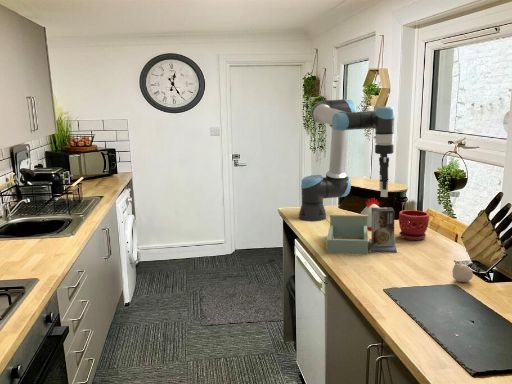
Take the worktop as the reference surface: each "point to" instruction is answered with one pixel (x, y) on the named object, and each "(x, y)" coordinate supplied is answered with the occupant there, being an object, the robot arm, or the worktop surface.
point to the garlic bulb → (462, 272)
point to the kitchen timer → (370, 211)
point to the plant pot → (413, 224)
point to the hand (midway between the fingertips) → (383, 193)
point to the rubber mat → (382, 248)
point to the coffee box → (382, 226)
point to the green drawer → (347, 234)
